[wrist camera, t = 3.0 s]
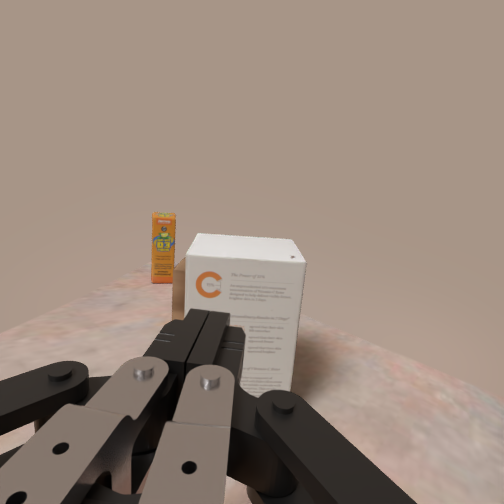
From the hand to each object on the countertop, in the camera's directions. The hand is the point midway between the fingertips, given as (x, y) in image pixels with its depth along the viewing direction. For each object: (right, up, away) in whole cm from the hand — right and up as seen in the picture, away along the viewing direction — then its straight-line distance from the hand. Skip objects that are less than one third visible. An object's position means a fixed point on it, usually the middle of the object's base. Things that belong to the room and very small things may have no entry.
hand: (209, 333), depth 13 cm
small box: (0, -9, +16) cm, 18 cm away
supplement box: (-12, -1, +39) cm, 41 cm away
